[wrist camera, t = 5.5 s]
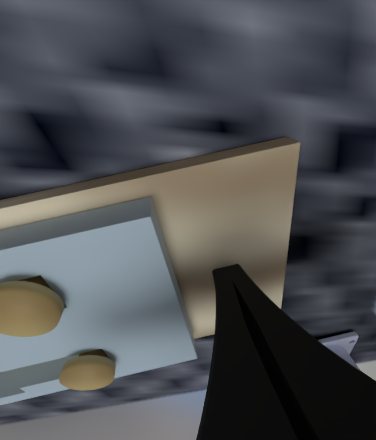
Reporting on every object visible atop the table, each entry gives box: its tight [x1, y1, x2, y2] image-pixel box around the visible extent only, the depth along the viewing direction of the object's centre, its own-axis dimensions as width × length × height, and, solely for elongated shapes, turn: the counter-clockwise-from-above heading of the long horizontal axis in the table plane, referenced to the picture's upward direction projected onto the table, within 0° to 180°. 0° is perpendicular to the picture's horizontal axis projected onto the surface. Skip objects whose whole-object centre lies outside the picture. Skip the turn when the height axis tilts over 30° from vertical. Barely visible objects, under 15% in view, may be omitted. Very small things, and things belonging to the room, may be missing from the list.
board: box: [0, 137, 300, 390], centre depth 11 cm, size 12×20×3 cm, turn 100°
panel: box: [0, 197, 197, 405], centre depth 10 cm, size 10×14×2 cm
